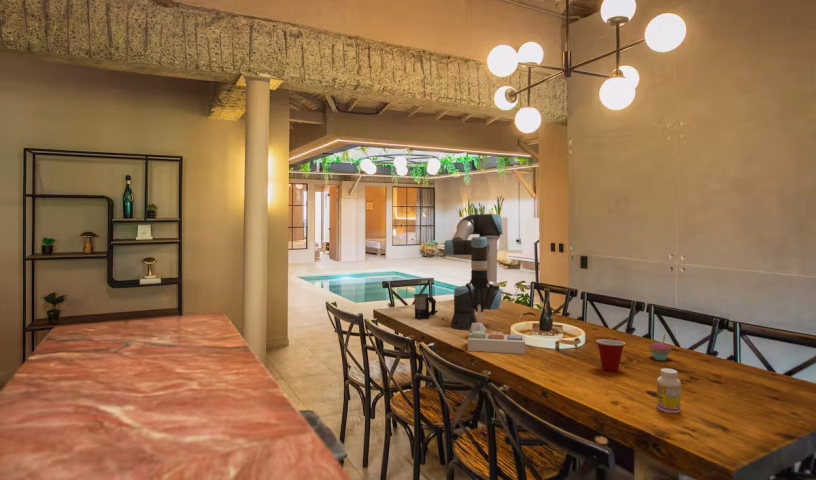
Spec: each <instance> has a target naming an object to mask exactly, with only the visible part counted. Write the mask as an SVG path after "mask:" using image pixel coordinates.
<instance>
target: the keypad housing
mask: <svg viewBox="0 0 816 480" xmlns="http://www.w3.org/2000/svg"><path fill="white" fill-rule="evenodd" d="M508 335H509V334H504V333H503V340H502V339H490V333H485V339H480V338H472V333H469V335H468V338H467V351H468V352H477V351H484V352H483V353H497V352H498V354H499V353H500V354H501V353H502V354H519V355H520V354H521V355H526V338H525V335H523V334H520V335H521V338H522V340H508Z"/></svg>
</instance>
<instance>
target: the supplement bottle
mask: <svg viewBox="0 0 816 480" xmlns="http://www.w3.org/2000/svg"><path fill="white" fill-rule="evenodd" d="M660 374H661V375H660V376H658V378H657V379H656V408H657V409H658V410H660V411H661V412H663V411H664V412H663V413H667V414H678V413H679V412H680V411H681V395H682V394H681V392H682V391H681V390H682V388H681V387H682V382H681V380H680V379H679V378H678V371H677V370H676V369H673V368H669V367H668V368H667V367H665V368H661V369H660Z"/></svg>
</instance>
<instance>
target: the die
mask: <svg viewBox="0 0 816 480" xmlns="http://www.w3.org/2000/svg"><path fill="white" fill-rule="evenodd" d="M487 330H488V329H487V328H486V326H484V323H482V322H478V323H472V324H471V327H470V329H468V333H469V334H470V333H472V331H485V334H487V333H486V332H487Z"/></svg>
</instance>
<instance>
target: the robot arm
mask: <svg viewBox="0 0 816 480" xmlns="http://www.w3.org/2000/svg"><path fill="white" fill-rule="evenodd" d="M503 232H504V231H503V222H502V218H501V216H500V214H496V213H483V214H481V213H480V214H476V213H475V214H470V215H467V216H465V217H463V218H461V219H460V220H459V222H458V223H457V224H456V231H455V232H454V235H453V237H452V239H446V240H445V241H444V245H443V247H444V248H443V250H444V253H445V255H448V256H470V257H471V259H470V260H471V262H470V263H471V264H470V268H471V272H470V280H469V282H467V283H466V284H465V285H460V286H457V287H455V288H454V289H453V310H454V311H453V312H454V313H453V315H452V318H451V322H450V327H451V328H452V329H456V330H464V331H465V330H467V331H469V330H470V327H471V324H472V323H479V322H478V320H482V313H483V312H484V310H488V311H489V310H490V311H493V310H494V311H495V310H499V308H500V307H501V302H502V293H503V289H502V288H500V285H499V283H498V281H497V280H498V269H497V268H498V240H499V239H500V238H501V236H502V235H503ZM472 235H478V236H473V237H471V239H469V237H470V236H472ZM476 312H477V317H476Z"/></svg>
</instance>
